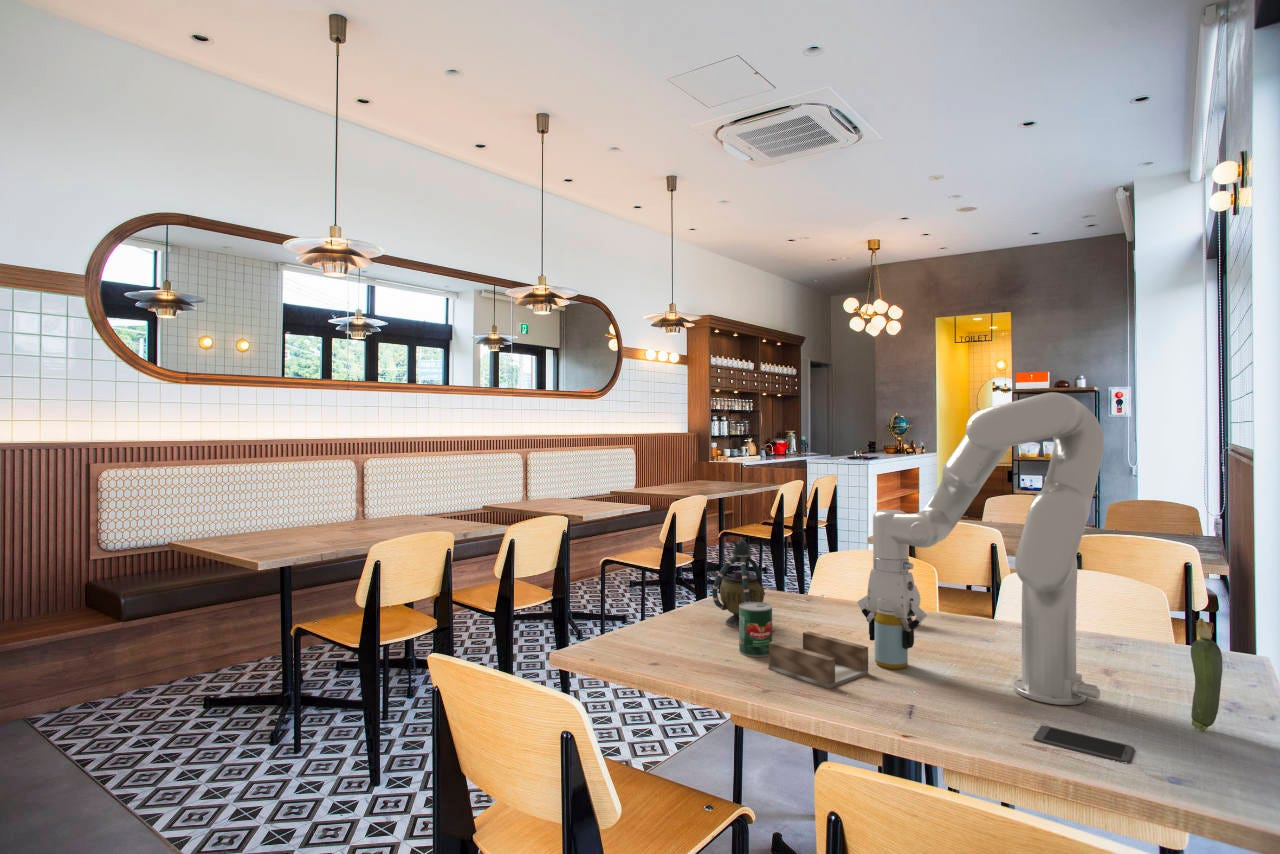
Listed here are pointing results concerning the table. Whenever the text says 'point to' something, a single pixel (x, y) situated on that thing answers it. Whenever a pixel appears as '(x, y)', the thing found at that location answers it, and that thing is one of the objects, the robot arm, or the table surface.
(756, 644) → the canned tomato
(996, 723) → the table surface
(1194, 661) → the vegetable
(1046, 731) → the cell phone
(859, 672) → the u rest
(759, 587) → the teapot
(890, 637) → the bottle
